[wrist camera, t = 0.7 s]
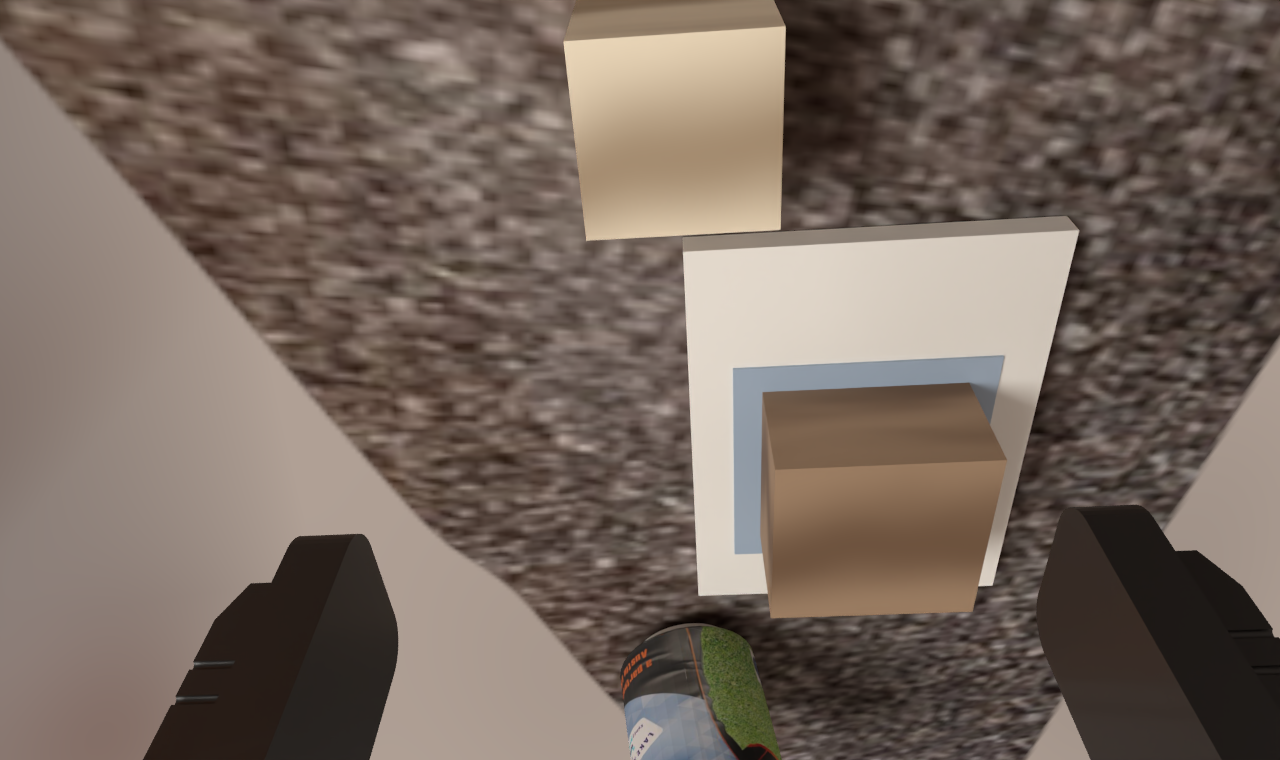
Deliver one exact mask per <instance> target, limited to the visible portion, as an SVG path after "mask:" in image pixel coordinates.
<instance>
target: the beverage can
mask: <svg viewBox="0 0 1280 760" xmlns="http://www.w3.org/2000/svg"><path fill="white" fill-rule="evenodd" d="M620 678H621V686H622V694H623V701H624V709H625V717H626V725H627V732H628V740H629V747H630V755H631V760H782V759H781V755H780V751H779V748H778V744H777V740H776V736H775V733H774V729H773V725H772V721H771V718H770V714H769V710H768V707H767V703H766V699H765V695H764V692H763V688H762V684H761V680H760V677H759V673H758V669H757V665H756V662H755V658H754V654H753V651H752V648H751V646H750V645H749V644H748V642H747V641H746V640H745V639H744V638H742V637H741V636H740V635H738V634H736V633H734V632H732V631H730V630H726V629H723V628H719V627H716V626H713V625H709V624H703V623H688V624H681V625H676V626H672V627H668V628H666V629H663V630H661V631H659V632H657V633H655V634H653V635H652V636H650V637H649V638H648V639H646V640H645V641H644V642H643V643H642V644H640V645H639V646H638V647H636V648H635V649H634V650H633V651H632V652H631V653H630V654H629V656H628V657H627V658H626V660H625V661H624V663H623V666H622V668H621V675H620Z"/></svg>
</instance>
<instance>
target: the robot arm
mask: <svg viewBox="0 0 1280 760" xmlns="http://www.w3.org/2000/svg"><path fill="white" fill-rule="evenodd" d="M1036 613H1037V626H1038V632H1039V637H1040V641H1041V644H1042V648H1043V651H1044V653H1045V656H1046V658H1047V660H1048V663H1049V665H1050V667H1051V669H1052V672H1053V674H1054V676H1055V679H1056V681H1057V683H1058V686H1059V688H1060V690H1061V692H1062V695H1063V697H1064V699H1065V702H1066V704H1067V706H1068V708H1069V711H1070V713H1071V715H1072V718H1073V720H1074V722H1075V724H1076V727H1077V729H1078V731H1079V734H1080V736H1081V738H1082V741H1083V743H1084V745H1085V748H1086V750H1087V752H1088V754H1089V757H1090V759H1091V760H1280V638H1278V637H1277V638H1275V637H1274V636H1273V633H1272V630H1273V629H1272V627H1271V626H1270V624H1269V623H1268V621H1267V620H1266V619H1265V617H1264V616H1263V614H1262V613H1261V612H1260V611H1259V609H1258V607H1257V606H1256V605H1255V603H1254V602H1253V600H1252V599H1251V598H1250V596H1249V595H1248V593H1247V592H1246V591H1245V589H1244V588H1243V586H1241V585H1240V584H1239V583H1238V582H1236V581H1235V580H1234V579H1233V578H1231V577H1230V576H1229V575H1227V574H1226V573H1225V572H1223V571H1222V570H1221V569H1220V568H1218V567H1217V566H1216V565H1215V564H1214V563H1212V562H1211V561H1210V560H1208V559H1207V558H1206V557H1205V556H1203V555H1202V554H1201V553H1199V552H1198V551H1197V550H1193V551H1175V550H1174V548H1173V547H1172V545H1171V544H1170V542H1169V541H1168V539H1167V538H1166V536H1165V535H1164V533H1163V532H1162V530H1161V529H1160V527H1159V526H1158V524H1157V523H1156V521H1155V520H1154V518H1153V517H1152V515H1151V514H1150V513H1149V512H1148V511H1147V510H1146V509H1145V508H1143V507H1142V506H1139V505H1120V506H1095V507H1071V508H1067V509H1065V510H1064V511H1063V513H1062V514H1061V516H1060V519H1059V522H1058V526H1057V529H1056V533H1055V536H1054V540H1053V544H1052V547H1051V551H1050V554H1049V558H1048V562H1047V565H1046V569H1045V572H1044V576H1043V580H1042V583H1041V587H1040V590H1039V594H1038V599H1037V612H1036ZM397 655H398V629H397V622H396V618H395V614H394V612H393V609H392V606H391V603H390V600H389V597H388V594H387V592H386V589H385V586H384V583H383V580H382V577H381V574H380V571H379V568H378V565H377V562H376V560H375V556H374V554H373V551H372V548H371V545H370V543H369V541H368V539H367V538H366V537H365V536H364V535H363V534H347V535H346V534H345V535H321V536H299V537H297V538H295V539H294V540H293V541H292V542H291V544H290V545H289V547H288V549H287V551H286V553H285V555H284V557H283V559H282V561H281V564H280V565H279V568H278V570H277V572H276V574H275V576H274V579H273V580H272V583H255V584H254V583H253V584H252V583H251V584H250V585H249V586H248V587H247V588H246V589H245V590H244V591H243V592H242V593H241V594H240V595H239V596H238V597H237V598H236V599H235V600H234V601H233V602H232V603H231V604H230V605H229V606H228V607H227V608H226V609H225V610H224V611H223V612H222V613H221V614H220V615H219V616H218V617H217V618H216V619H215V621H214V623H213V624H212V626H211V628H210V630H209V633H208V634H207V636H206V638H205V640H204V642H203V644H202V646H201V648H200V650H199V652H198V654H197V656H196V658H195V659H194V668H193V670H189V671H188V673H187V675H186V677H185V679H184V681H183V683H182V685H181V687H180V689H179V691H178V693H177V695H176V703H175V705H171V706H170V708H169V710H168V712H167V714H166V716H165V718H164V720H163V722H162V724H161V726H160V728H159V730H158V732H157V734H156V735H155V737H154V739H153V741H152V743H151V745H150V747H149V749H148V751H147V753H146V755H145V757H144V759H143V760H369V759H370V756H371V752H372V749H373V745H374V742H375V738H376V735H377V732H378V728H379V724H380V721H381V718H382V714H383V710H384V707H385V704H386V700H387V696H388V693H389V690H390V686H391V683H392V679H393V676H394V672H395V668H396V663H397Z"/></svg>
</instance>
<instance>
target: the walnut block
mask: <svg viewBox="0 0 1280 760" xmlns="http://www.w3.org/2000/svg"><path fill="white" fill-rule="evenodd" d="M1006 463H1007V459H1006V457H1005V455H1004V452H1003V450H1002V448H1001V446H1000V444H999V442H998V440H997V438H996V436H995V434H994V432H993V430H992V428H991V426H990V424H989V422H988V420H987V418H986V416H985V414H984V412H983V410H982V408H981V406H980V403H979V401H978V399H977V397H976V395H975V393H974V391H973V389H972V387H971V385H970V383H949V384H927V385H905V386H884V387H862V388H841V389H819V390H797V391H776V392H762V448H761V513H760V538H761V546H762V554H763V561H764V569H765V576H766V584H767V592H768V599H769V607H770V614H771V618H792V617H822V616H853V615H883V614H913V613H944V612H972V611H973V606H974V602H975V598H976V593H977V589H978V585H979V580H980V576H981V572H982V567H983V563H984V559H985V554H986V550H987V546H988V541H989V537H990V533H991V528H992V524H993V520H994V515H995V511H996V507H997V502H998V498H999V494H1000V489H1001V485H1002V481H1003V476H1004V472H1005V468H1006Z"/></svg>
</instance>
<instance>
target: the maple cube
mask: <svg viewBox="0 0 1280 760" xmlns="http://www.w3.org/2000/svg"><path fill="white" fill-rule="evenodd" d="M785 36H786V26H785V24H784V21H783V19H782V17H781V15H780V13H779V10H778V8H777V6H776V4H775V2H774V0H576V3H575V6H574V10H573V13H572V16H571V19H570V22H569V25H568V29H567V32H566V35H565V38H564V50H565V59H566V67H567V76H568V85H569V93H570V102H571V111H572V119H573V128H574V137H575V145H576V154H577V163H578V171H579V180H580V189H581V197H582V206H583V215H584V223H585V232H586V241H588V240H606V239H624V238H642V237H660V236H678V235H696V234H714V233H732V232H750V231H768V230H780V226H781V188H782V150H783V112H784V74H785Z"/></svg>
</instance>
